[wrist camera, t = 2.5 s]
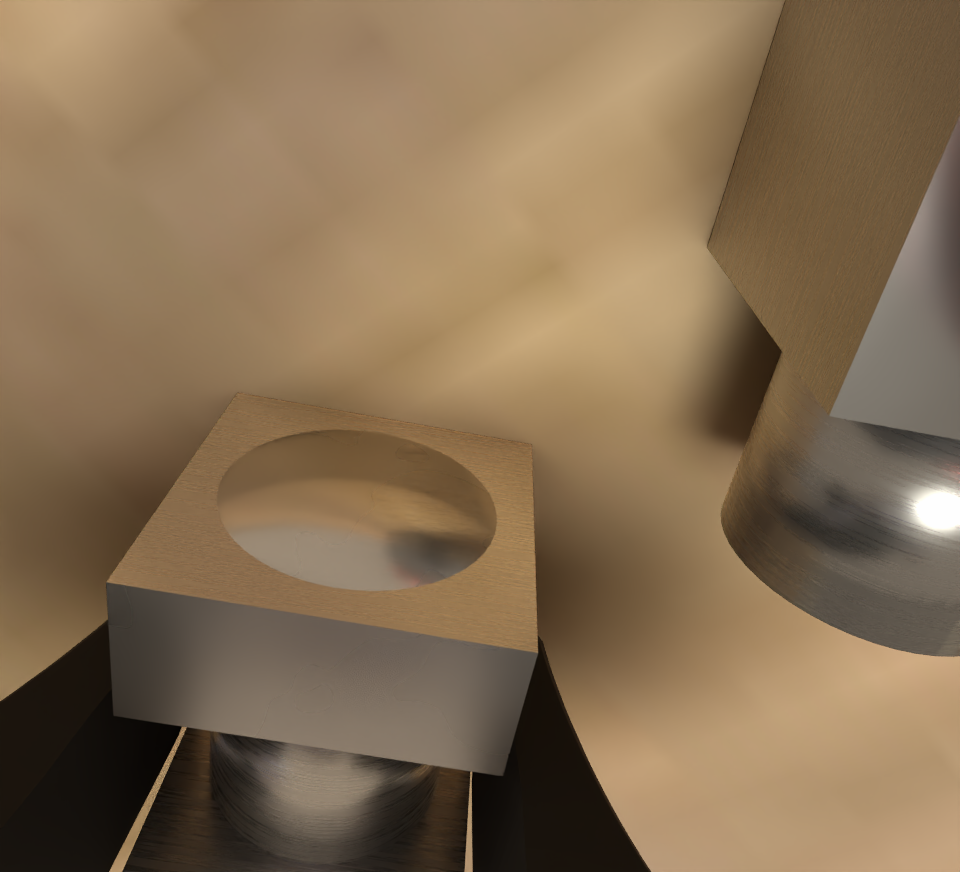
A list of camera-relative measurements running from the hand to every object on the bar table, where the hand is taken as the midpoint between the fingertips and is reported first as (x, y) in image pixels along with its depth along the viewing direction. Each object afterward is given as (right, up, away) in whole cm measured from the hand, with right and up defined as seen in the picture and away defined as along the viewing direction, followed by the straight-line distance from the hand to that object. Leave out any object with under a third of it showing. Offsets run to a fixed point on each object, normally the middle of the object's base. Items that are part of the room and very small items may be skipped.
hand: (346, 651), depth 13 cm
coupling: (0, +1, +1) cm, 2 cm away
